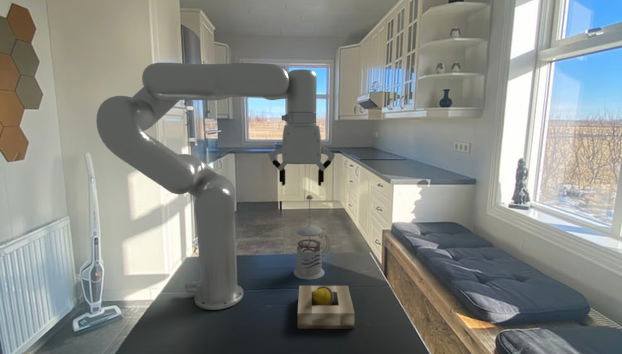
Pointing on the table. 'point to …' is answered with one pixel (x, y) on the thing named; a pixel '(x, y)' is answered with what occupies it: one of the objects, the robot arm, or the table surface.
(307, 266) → the french press
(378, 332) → the table surface
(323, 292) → the yellow stepped cone
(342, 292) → the socket block
